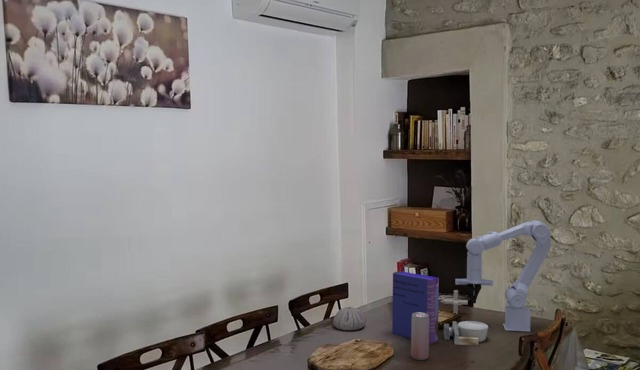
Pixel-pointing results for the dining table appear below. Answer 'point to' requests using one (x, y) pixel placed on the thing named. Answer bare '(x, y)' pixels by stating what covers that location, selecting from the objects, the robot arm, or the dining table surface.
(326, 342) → the dining table surface
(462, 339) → the pair of beige bars
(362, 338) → the dining table surface
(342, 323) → the sea urchin shell
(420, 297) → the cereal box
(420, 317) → the beverage can
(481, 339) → the ramekin
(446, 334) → the grey h-shaped piece
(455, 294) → the pipe connector
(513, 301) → the robot arm
